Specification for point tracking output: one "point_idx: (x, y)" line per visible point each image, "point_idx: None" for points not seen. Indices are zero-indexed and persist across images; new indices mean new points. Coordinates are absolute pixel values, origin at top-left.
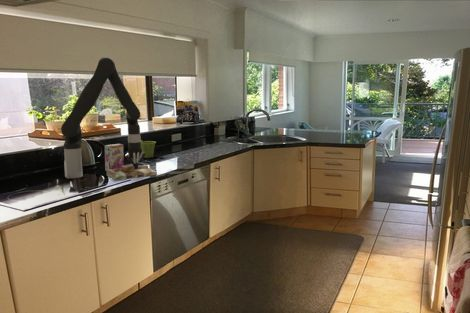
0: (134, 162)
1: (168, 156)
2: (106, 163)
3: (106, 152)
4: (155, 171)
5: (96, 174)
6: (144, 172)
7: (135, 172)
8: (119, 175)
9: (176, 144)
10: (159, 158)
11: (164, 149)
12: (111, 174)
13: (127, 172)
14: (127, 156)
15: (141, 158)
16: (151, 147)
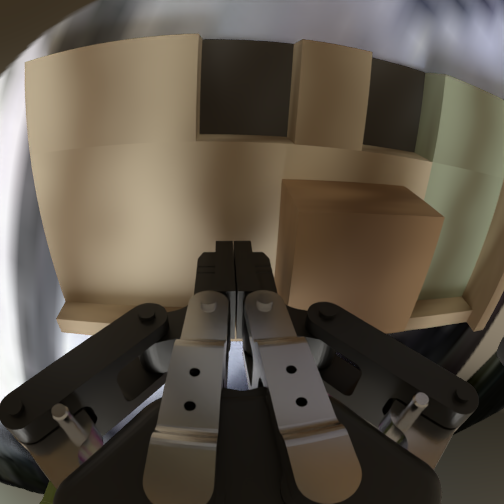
0: (273, 301)
1: (2, 442)
2: None
3: None
4: (30, 75)
5: (457, 341)
6: (171, 76)
7: (284, 146)
8: (484, 129)
9: (13, 483)
10: None
11: (33, 481)
12: None
13: (379, 185)
14: (451, 393)
15: (106, 350)
16: (52, 501)
